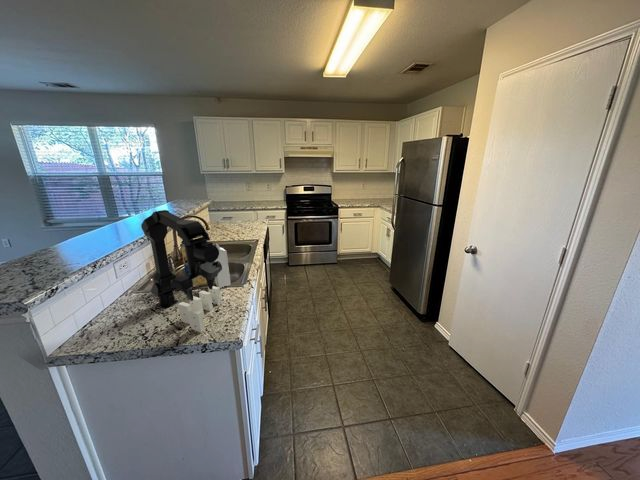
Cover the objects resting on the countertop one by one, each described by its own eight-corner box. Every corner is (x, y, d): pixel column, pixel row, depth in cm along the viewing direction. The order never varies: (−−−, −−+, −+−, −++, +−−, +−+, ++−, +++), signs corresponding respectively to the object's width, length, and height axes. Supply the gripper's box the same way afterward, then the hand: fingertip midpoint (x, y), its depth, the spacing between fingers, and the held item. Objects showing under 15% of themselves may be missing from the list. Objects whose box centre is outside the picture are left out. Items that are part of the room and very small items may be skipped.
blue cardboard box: (210, 283, 134) (204, 243, 128) (187, 285, 132) (180, 245, 125) (212, 277, 141) (206, 239, 134) (190, 280, 138) (183, 241, 132)
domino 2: (191, 315, 107) (188, 298, 105) (195, 312, 109) (192, 295, 106) (200, 317, 105) (197, 300, 103) (204, 315, 107) (201, 298, 104)
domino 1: (181, 321, 103) (177, 304, 100) (185, 319, 104) (182, 301, 102) (190, 324, 101) (186, 307, 98) (194, 321, 102) (191, 304, 100)
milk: (219, 288, 129) (212, 247, 122) (215, 284, 133) (209, 244, 126) (231, 285, 132) (225, 245, 125) (227, 281, 137) (222, 242, 130)
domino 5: (210, 303, 116) (207, 287, 113) (213, 301, 117) (211, 285, 115) (218, 305, 114) (216, 289, 111) (221, 303, 115) (219, 287, 113)
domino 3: (191, 329, 98) (187, 311, 95) (195, 326, 100) (192, 308, 97) (200, 332, 96) (197, 314, 93) (205, 329, 98) (201, 311, 95)
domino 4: (201, 308, 111) (198, 292, 109) (204, 306, 113) (202, 290, 111) (209, 311, 109) (207, 294, 107) (213, 309, 111) (210, 292, 109)
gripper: (190, 269, 81) (198, 312, 86) (230, 250, 98) (235, 287, 102) (165, 264, 85) (174, 305, 90) (208, 247, 102) (213, 282, 106)
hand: (201, 294), depth 97 cm, fingers open, 9 cm apart
